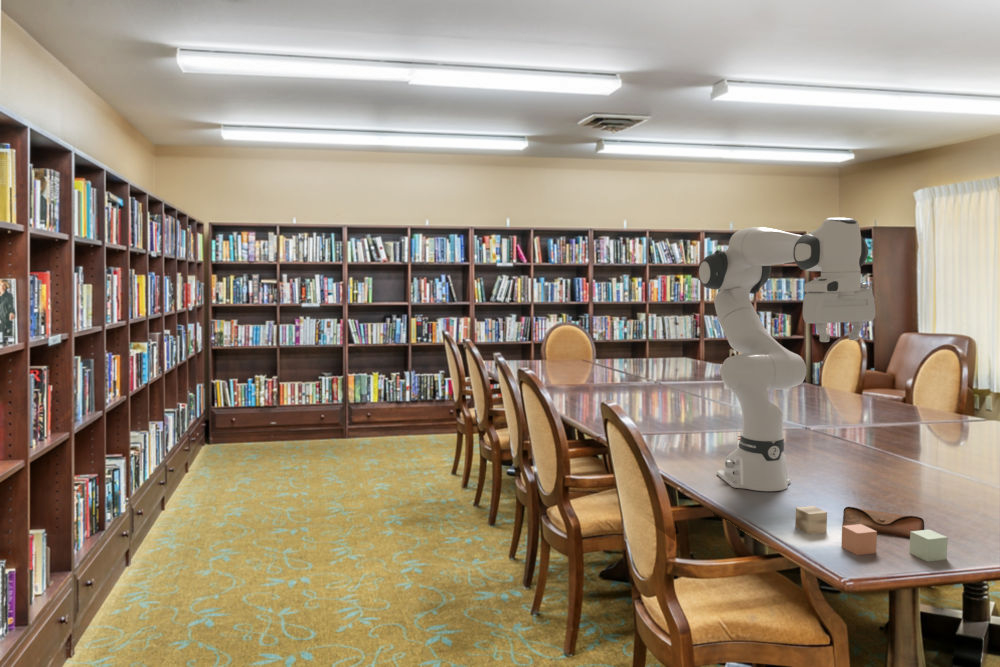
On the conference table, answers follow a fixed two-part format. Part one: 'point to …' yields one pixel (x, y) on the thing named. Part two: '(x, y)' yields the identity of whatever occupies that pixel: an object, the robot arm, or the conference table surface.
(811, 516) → the maple block
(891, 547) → the conference table surface
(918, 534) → the sage block
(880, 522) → the sunglasses case
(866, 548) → the rust block
